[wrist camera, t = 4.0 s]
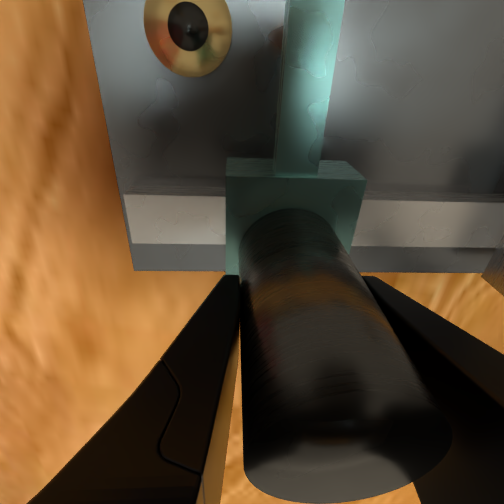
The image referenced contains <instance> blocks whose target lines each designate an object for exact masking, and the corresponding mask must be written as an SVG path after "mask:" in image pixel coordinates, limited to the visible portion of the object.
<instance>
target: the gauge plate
mask: <svg viewBox="0 0 504 504" xmlns="http://www.w3.org/2000/svg"><path fill="white" fill-rule="evenodd" d="M285 1H286V0H83V4H84V9H85V14H86V20H87V25H88V30H89V35H90V41H91V46H92V51H93V56H94V62H95V67H96V72H97V78H98V83H99V88H100V93H101V99H102V104H103V109H104V114H105V120H106V125H107V130H108V135H109V141H110V146H111V151H112V157H113V162H114V167H115V172H116V178H117V183H118V188H119V193H120V199H121V204H122V209H123V215H124V220H125V225H126V230H127V236H128V241H129V246H130V251H131V257H132V262H133V267H134V271H226V163H227V157H237V158H269V159H273V153H274V140H275V127H276V115H277V102H278V89H279V77H280V64H281V51H282V39H283V26H284V13H285ZM320 160H333V161H346V162H347V163H349V164H350V165H351V166H352V167H353V168H354V169H355V170H357V171H358V172H359V173H360V174H361V175H362V176H363V177H365V178H366V179H367V184H366V188H365V192H364V196H363V200H362V204H361V208H360V213H359V217H358V221H357V225H356V229H355V233H354V237H353V241H352V245H351V249H350V253H349V256H350V258H351V260H352V261H353V263H354V265H355V266H356V268H357V270H358V271H359V272H417V273H483V274H482V276H481V277H482V278H483V279H484V280H486V281H487V282H488V283H489V284H490V285H491V286H492V287H494V288H495V289H496V290H497V291H498V292H499V293H501V294H502V295H503V296H504V0H345V3H344V9H343V16H342V22H341V28H340V35H339V41H338V47H337V54H336V60H335V67H334V73H333V79H332V86H331V92H330V98H329V105H328V111H327V117H326V124H325V130H324V136H323V143H322V149H321V155H320Z"/></svg>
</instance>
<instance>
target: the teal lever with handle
mask: <svg viewBox="0 0 504 504" xmlns="http://www.w3.org/2000/svg"><path fill="white" fill-rule="evenodd" d="M344 3H345V0H286V1H285V13H284V26H283V39H282V51H281V64H280V77H279V89H278V102H277V115H276V127H275V140H274V153H273V159H269V158H237V157H227V163H226V274H227V275H239V277H240V343H241V383H242V423H243V462H244V471H245V474H246V476H247V478H248V479H249V481H250V482H251V483H252V484H253V485H254V486H255V487H256V488H258V489H259V490H261V491H262V492H264V493H266V494H268V495H271V496H274V497H276V498H280V499H284V500H288V501H293V502H300V503H314V504H326V503H341V502H349V501H355V500H361V499H366V498H370V497H374V496H378V495H381V494H384V493H387V492H390V491H393V490H396V489H398V488H401V487H403V486H405V485H407V484H409V483H411V482H413V481H415V480H417V479H419V478H420V477H422V476H424V475H425V474H427V473H428V472H429V471H431V470H432V469H433V468H434V467H436V466H437V465H438V464H439V463H440V462H441V461H442V459H443V458H444V457H445V456H446V454H447V453H448V451H449V449H450V447H451V444H452V439H453V433H452V428H451V426H450V424H449V422H448V420H447V418H446V417H445V415H444V413H443V412H442V410H441V408H440V407H439V405H438V403H437V402H436V400H435V398H434V397H433V395H432V393H431V392H430V390H429V388H428V387H427V385H426V383H425V382H424V380H423V378H422V376H421V375H420V373H419V371H418V370H417V368H416V366H415V365H414V363H413V361H412V360H411V358H410V356H409V355H408V353H407V351H406V350H405V348H404V346H403V345H402V343H401V341H400V340H399V338H398V336H397V335H396V333H395V331H394V330H393V328H392V326H391V325H390V323H389V321H388V320H387V318H386V316H385V315H384V313H383V311H382V310H381V308H380V306H379V305H378V303H377V301H376V300H375V298H374V296H373V295H372V293H371V291H370V290H369V288H368V286H367V285H366V283H365V281H364V280H363V278H362V276H361V275H360V273H359V271H358V270H357V268H356V266H355V265H354V263H353V261H352V260H351V258H350V256H349V253H350V249H351V245H352V241H353V237H354V233H355V229H356V225H357V221H358V217H359V213H360V208H361V204H362V200H363V196H364V192H365V188H366V184H367V179H366V178H365V177H363V176H362V175H361V174H360V173H359V172H358V171H357V170H355V169H354V168H353V167H352V166H351V165H350V164H349V163H347V162H346V161H333V160H320V155H321V149H322V143H323V136H324V130H325V124H326V117H327V111H328V105H329V98H330V92H331V86H332V79H333V73H334V67H335V60H336V54H337V47H338V41H339V35H340V28H341V22H342V16H343V9H344Z"/></svg>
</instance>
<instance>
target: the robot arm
mask: <svg viewBox="0 0 504 504" xmlns="http://www.w3.org/2000/svg"><path fill="white" fill-rule="evenodd" d="M362 278H363V280H364V281H365V283H366V285H367V286H368V288H369V290H370V291H371V293H372V295H373V296H374V298H375V300H376V301H377V303H378V305H379V306H380V308H381V310H382V311H383V313H384V315H385V316H386V318H387V320H388V321H389V323H390V325H391V326H392V328H393V330H394V331H395V333H396V335H397V336H398V338H399V340H400V341H401V343H402V345H403V346H404V348H405V350H406V351H407V353H408V355H409V356H410V358H411V360H412V361H413V363H414V365H415V366H416V368H417V370H418V371H419V373H420V375H421V376H422V378H423V380H424V382H425V383H426V385H427V387H428V388H429V390H430V392H431V393H432V395H433V397H434V398H435V400H436V402H437V403H438V405H439V407H440V408H441V410H442V412H443V413H444V415H445V417H446V418H447V420H448V422H449V424H450V426H451V428H452V433H453V439H452V444H451V447H450V449H449V451H448V453H447V454H446V456H445V457H444V458H443V459H442V461H441V462H440V463H439V464H438V465H437V466H436V467H434V468H433V469H432V470H431V471H429V472H428V473H427V474H425V475H424V476H422V477H420V478H419V479H417V480H415V481H413V484H414V486H415V489H416V492H417V494H418V497H419V499H420V502H421V504H504V355H503V354H502V353H500V352H498V351H497V350H495V349H493V348H492V347H490V346H488V345H487V344H485V343H484V342H482V341H480V340H479V339H477V338H475V337H474V336H472V335H470V334H469V333H467V332H465V331H464V330H462V329H461V328H459V327H457V326H456V325H454V324H452V323H451V322H449V321H447V320H446V319H444V318H442V317H441V316H439V315H438V314H436V313H434V312H433V311H431V310H429V309H428V308H426V307H424V306H423V305H421V304H419V303H418V302H416V301H415V300H413V299H411V298H410V297H408V296H406V295H405V294H403V293H401V292H400V291H398V290H396V289H395V288H393V287H392V286H390V285H388V284H387V283H385V282H383V281H382V280H380V279H378V278H377V277H375V276H362ZM239 328H240V277H239V275H227V274H226V275H223V277H222V278H221V279H220V281H219V282H218V283H217V284H216V286H215V287H214V288H213V290H212V291H211V292H210V294H209V295H208V296H207V298H206V299H205V300H204V302H203V303H202V304H201V306H200V307H199V308H198V309H197V311H196V312H195V313H194V315H193V316H192V317H191V319H190V320H189V321H188V323H187V324H186V325H185V327H184V328H183V329H182V330H181V332H180V333H179V334H178V336H177V337H176V338H175V340H174V341H173V342H172V344H171V345H170V346H169V348H168V349H167V350H166V352H165V353H164V354H163V355H162V357H161V358H160V360H159V361H158V362H157V363H156V364H155V366H154V367H153V368H152V370H151V371H150V372H149V374H148V375H147V376H146V377H145V379H144V380H143V381H142V382H141V384H140V385H139V386H138V387H137V389H136V390H135V391H134V392H133V393H132V395H131V396H130V397H129V398H128V399H127V400H126V401H125V402H124V403H123V404H122V406H121V407H120V408H119V409H118V410H117V411H116V412H115V413H114V414H113V415H112V417H111V418H110V419H109V420H108V421H107V422H106V423H105V424H104V425H103V426H102V427H101V428H100V429H99V430H98V431H97V432H96V433H95V435H94V436H93V437H92V438H91V439H90V440H89V441H88V442H87V443H86V444H85V445H84V446H83V447H82V448H81V449H80V450H79V451H78V452H77V454H76V455H75V456H74V457H73V458H72V459H71V460H70V461H69V462H68V463H67V464H66V465H65V466H64V467H63V468H62V469H61V470H60V471H59V472H58V474H57V475H56V476H55V477H54V478H53V479H52V480H51V481H50V482H49V483H48V484H47V485H46V486H45V487H44V488H43V489H42V490H41V491H40V492H39V493H38V494H37V495H35V496H34V497H33V498H32V499H31V500H30V501H29V502H28V503H27V504H220V500H221V492H222V484H223V476H224V469H225V461H226V453H227V445H228V437H229V429H230V421H231V414H232V406H233V398H234V390H235V382H236V374H237V366H238V354H239Z"/></svg>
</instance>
